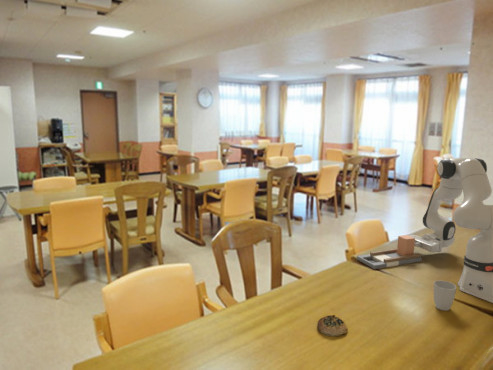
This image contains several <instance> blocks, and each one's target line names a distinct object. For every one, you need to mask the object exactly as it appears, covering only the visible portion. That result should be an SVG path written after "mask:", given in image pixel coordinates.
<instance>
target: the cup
mask: <svg viewBox="0 0 493 370" xmlns="http://www.w3.org/2000/svg"><path fill="white" fill-rule="evenodd" d="M456 291H457V285H456V284H455V283H453V282H450V281H447V280H435V281H434V282H433V301H434V305H435V308H436V309H438V310H439V311H440V310H441V311H445V312H446V311H449V310H450V309H451V308H452V305H453V302H454V300H455V296H456V293H457V292H456Z"/></svg>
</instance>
